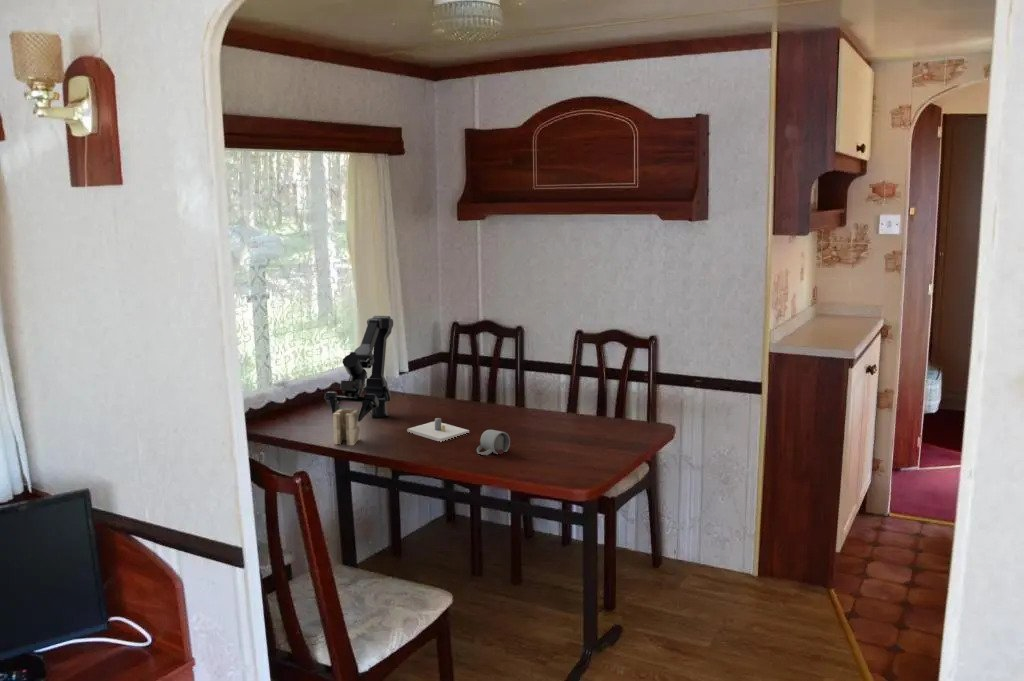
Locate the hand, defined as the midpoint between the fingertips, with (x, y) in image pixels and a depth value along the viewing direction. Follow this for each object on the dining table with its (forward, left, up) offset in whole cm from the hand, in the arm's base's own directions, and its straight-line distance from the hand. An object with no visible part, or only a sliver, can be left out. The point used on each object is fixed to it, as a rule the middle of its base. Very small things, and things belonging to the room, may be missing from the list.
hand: (346, 420), depth 297 cm
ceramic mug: (+28, +44, -8) cm, 53 cm away
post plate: (0, +33, -8) cm, 34 cm away
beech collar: (0, 0, -8) cm, 8 cm away
